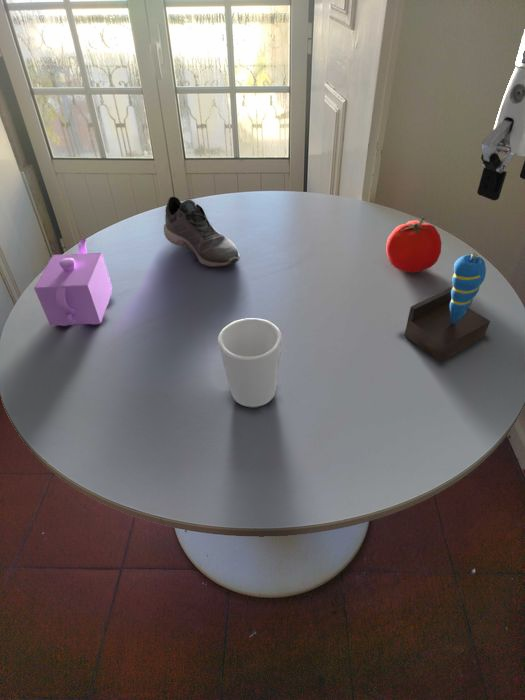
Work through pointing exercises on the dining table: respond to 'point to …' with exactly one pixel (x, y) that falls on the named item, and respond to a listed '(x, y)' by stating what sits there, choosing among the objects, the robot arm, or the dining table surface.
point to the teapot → (75, 288)
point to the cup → (251, 360)
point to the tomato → (413, 246)
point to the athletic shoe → (197, 234)
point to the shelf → (443, 326)
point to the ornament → (465, 284)
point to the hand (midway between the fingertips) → (509, 188)
